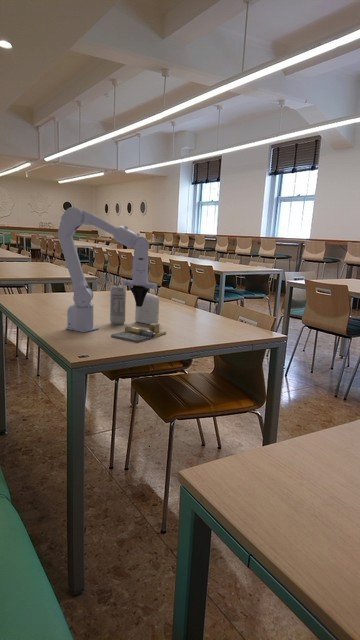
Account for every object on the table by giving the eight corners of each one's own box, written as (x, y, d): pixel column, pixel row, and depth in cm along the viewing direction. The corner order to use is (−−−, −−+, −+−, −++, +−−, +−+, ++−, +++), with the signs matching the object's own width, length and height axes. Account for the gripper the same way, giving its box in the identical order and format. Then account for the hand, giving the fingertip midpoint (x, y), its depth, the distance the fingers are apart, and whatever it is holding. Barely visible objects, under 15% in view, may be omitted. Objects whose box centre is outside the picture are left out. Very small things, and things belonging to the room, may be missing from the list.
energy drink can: (126, 322, 171) (127, 286, 168) (123, 325, 165) (123, 288, 162) (112, 321, 171) (112, 285, 168) (108, 324, 165) (108, 287, 162)
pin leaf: (111, 336, 146) (111, 330, 145) (128, 332, 154) (128, 325, 154) (140, 343, 139) (140, 336, 139) (157, 338, 147) (157, 331, 147)
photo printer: (159, 324, 171) (161, 294, 168) (154, 325, 167) (155, 295, 165) (139, 320, 176) (140, 291, 173) (133, 322, 172) (134, 292, 170)
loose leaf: (124, 332, 152) (124, 322, 151) (140, 328, 160) (140, 319, 159) (150, 338, 146) (151, 328, 145) (166, 333, 154) (166, 323, 153)
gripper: (162, 271, 152) (161, 307, 155) (131, 268, 160) (131, 302, 163) (151, 272, 147) (150, 309, 149) (119, 268, 154) (119, 304, 157)
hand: (139, 306), depth 156 cm, fingers closed
